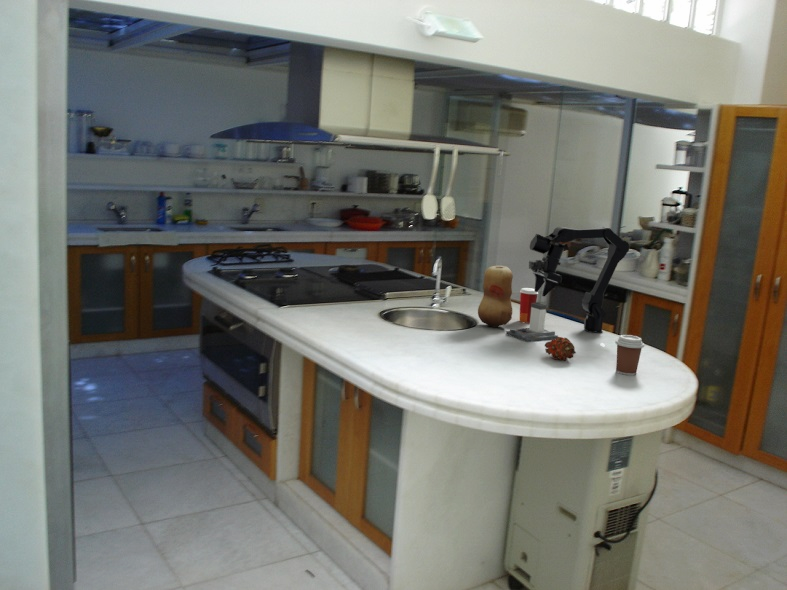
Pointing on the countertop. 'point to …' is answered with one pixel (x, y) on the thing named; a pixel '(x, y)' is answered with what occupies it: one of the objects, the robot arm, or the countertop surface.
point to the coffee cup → (628, 354)
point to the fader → (537, 318)
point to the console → (531, 335)
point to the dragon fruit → (560, 348)
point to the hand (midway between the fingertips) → (539, 293)
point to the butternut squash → (496, 296)
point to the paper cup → (526, 303)
